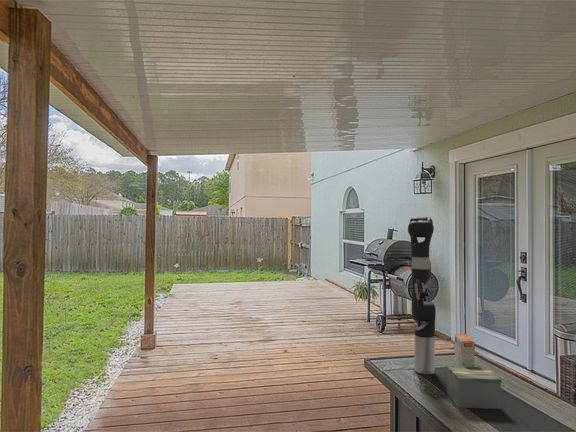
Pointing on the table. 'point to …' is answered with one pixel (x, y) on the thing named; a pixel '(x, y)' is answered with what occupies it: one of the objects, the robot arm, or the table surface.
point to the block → (474, 393)
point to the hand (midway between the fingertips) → (420, 308)
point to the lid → (473, 374)
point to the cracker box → (464, 351)
